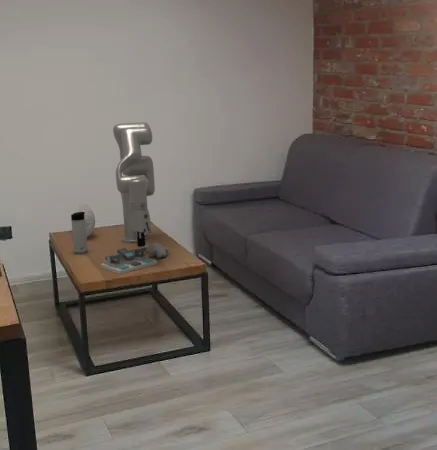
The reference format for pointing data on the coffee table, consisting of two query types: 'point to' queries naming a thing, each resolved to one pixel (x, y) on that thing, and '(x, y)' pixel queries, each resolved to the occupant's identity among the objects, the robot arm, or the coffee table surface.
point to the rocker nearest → (139, 250)
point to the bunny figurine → (157, 250)
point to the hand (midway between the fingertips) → (141, 245)
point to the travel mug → (79, 233)
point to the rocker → (114, 256)
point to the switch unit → (128, 263)
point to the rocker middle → (126, 254)
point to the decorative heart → (87, 217)
